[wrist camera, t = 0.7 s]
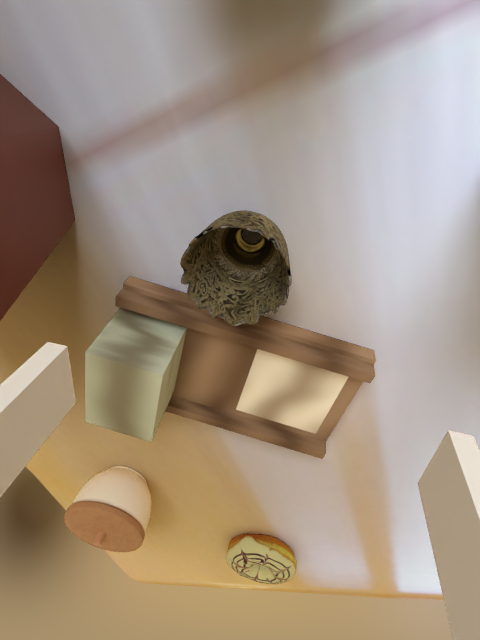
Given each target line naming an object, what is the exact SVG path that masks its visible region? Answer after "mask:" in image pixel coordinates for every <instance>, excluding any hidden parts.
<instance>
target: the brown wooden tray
mask: <svg viewBox="0 0 480 640" xmlns="http://www.w3.org/2000/svg"><path fill="white" fill-rule="evenodd" d="M115 306H118V307H120V309H119V310H118V311H117V312H116V314H115V315H114V316H113V318H112V319H111V320H110V321H109V323H108V324H107V325H106V326H105V328H104V329H103V330H102V331H101V333H100V334H99V335H98V337H97V338H96V339H95V340H94V342H93V343H92V344H91V345H90V347H89V348H88V349H87V350H86V352H85V422H87V423H90V424H93V425H96V426H100V427H103V428H106V429H110V430H113V431H116V432H119V433H123V434H126V435H129V436H133V437H136V438H139V439H142V440H146V441H149V442H152V440H153V437H154V435H155V433H156V431H157V428H158V426H159V424H160V421H161V419H162V417H163V415H164V412H165V411H167V412H170V413H174V414H177V415H180V416H183V417H187V418H190V419H193V420H197V421H200V422H203V423H206V424H210V425H213V426H216V427H220V428H223V429H226V430H229V431H233V432H236V433H239V434H243V435H246V436H249V437H252V438H256V439H259V440H262V441H266V442H269V443H272V444H276V445H279V446H282V447H285V448H289V449H292V450H295V451H299V452H302V453H305V454H308V455H312V456H315V457H318V458H322V459H323V457H324V455H325V454H326V441H327V439H328V437H329V436H330V434H331V432H332V431H333V429H334V428H335V426H336V424H337V423H338V421H339V419H340V418H341V416H342V415H343V413H344V411H345V410H346V408H347V406H348V405H349V403H350V402H351V400H352V398H353V397H354V395H355V393H356V392H357V390H358V389H359V387H360V385H361V384H362V382H363V381H365V382H368V383H371V381H372V380H373V378H374V377H375V371H374V365H373V364H374V363H375V361H376V359H375V354H374V350H371V349H368V348H365V347H361V346H358V345H355V344H351V343H348V342H345V341H342V340H338V339H335V338H332V337H328V336H325V335H322V334H318V333H315V332H312V331H309V330H305V329H302V328H299V327H295V326H292V325H289V324H286V323H282V322H279V321H276V320H272V319H269V318H266V317H262V316H259V318H258V322H257V323H256V324H254V325H249V324H248V323H247V322H246V323H244V324H240V325H238V326H232V325H230V324H229V323H227V322H225V320H224V318H222V317H221V316H218V317H217V318H215V319H212V317H211V314H210V310H209V309H210V308H209V307H208V308H207V309H204V308H201V309H198V308H197V307H196V303H195V301H194V300H193V301H192V300H191V299H189V297H188V294H187V293H183V292H180V291H177V290H174V289H170V288H167V287H164V286H160V285H157V284H154V283H151V282H147V281H144V280H141V279H137V278H134V277H131V276H130V277H129V278H128V279H127V280H126V281H125V283H124V284H123V289H122V290H121V291H120V293H119V294H118V295H117V296H116V304H115Z"/></svg>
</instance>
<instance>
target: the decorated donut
mask: <svg viewBox="0 0 480 640" xmlns="http://www.w3.org/2000/svg"><path fill="white" fill-rule="evenodd" d="M226 561H227V563H228V564H229V565H230V566H231V567H232V568H233V569H234V570H235V571H236V572H237V573H238V574H239V575H241V576H243V577H246V578H249V579H251V580H254V581H256V582H260V583H266V584H279V583H284V582H287V581H289V580H290V579H291V578H292V577H293V576H294V574H295V572H296V560H295V557H294V554H293V552H292V550H291V549H290V548H289V546H288V545H286V544H285V543H283V542H282V541H280V540H279V539H277V538H275V537H271V536H269V535H262V534H257V535H256V534H250V535H249V534H243V535H239V536H237V537H235V538H234V539H232V540H231V542H230V544H229V547H228V552H227V555H226Z"/></svg>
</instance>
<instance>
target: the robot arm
mask: <svg viewBox="0 0 480 640" xmlns="http://www.w3.org/2000/svg"><path fill="white" fill-rule="evenodd" d="M75 403H76V398H75V392H74V385H73V379H72V372H71V366H70V359H69V352H68V346H64V345H60V344H55V343H51V342H47V343H46V344H45V345H44V346H43V347H41V348H40V349H39V350H38V351H37V352H36V353H35V354H34V355H33V356H31V357H30V358H29V359H28V360H27V361H26V362H25V363H24V364H23V365H22V366H20V367H19V368H18V369H17V370H16V371H15V372H14V373H13V374H12V375H10V376H9V377H8V378H7V379H6V380H5V381H4V382H3V383H2V384H1V385H0V497H1V496H2V495H3V493H4V492H5V491H6V490H7V488H8V487H9V486H10V485H11V483H12V482H13V481H14V480H15V478H16V477H17V476H18V475H19V473H20V472H21V471H22V470H23V468H24V467H25V466H26V465H27V463H28V462H29V461H30V460H31V458H32V457H33V456H34V455H35V453H36V452H37V451H38V450H39V448H40V447H41V446H42V445H43V443H44V442H45V441H46V440H47V438H48V437H49V436H50V435H51V433H52V432H53V431H54V430H55V428H56V427H57V426H58V425H59V423H60V422H61V421H62V420H63V418H64V417H65V416H66V415H67V413H68V412H69V411H70V410H71V408H72V407H73V406H74V405H75ZM418 487H419V491H420V496H421V500H422V505H423V509H424V514H425V518H426V522H427V527H428V531H429V536H430V540H431V545H432V549H433V554H434V558H435V562H436V567H437V571H438V576H439V580H440V585H441V589H442V594H443V598H444V602H445V607H446V611H447V616H448V620H449V625H450V629H451V634H452V637H453V640H480V451H479V448H478V446H477V443H476V441H475V439H474V436H473V435H468V434H464V433H459V432H454V431H450V430H448V432H447V434H446V435H445V437H444V439H443V440H442V442H441V444H440V446H439V447H438V449H437V451H436V453H435V454H434V456H433V458H432V459H431V461H430V463H429V465H428V466H427V468H426V470H425V472H424V473H423V475H422V477H421V478H420V480H419V482H418Z"/></svg>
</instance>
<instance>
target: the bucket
mask: <svg viewBox="0 0 480 640" xmlns="http://www.w3.org/2000/svg"><path fill="white" fill-rule="evenodd" d="M74 221H75V217H74V211H73V206H72V200H71V194H70V189H69V183H68V177H67V172H66V166H65V161H64V155H63V149H62V144H61V138H60V133H59V127H58V126H57V125H56V124H55V123H54V122H53V121H52V120H50V119H49V118H48V117H47V116H46V115H45V114H44V113H43V112H42V111H41V110H39V109H38V108H37V107H36V106H35V105H34V104H33V103H32V102H31V101H29V100H28V99H27V98H26V97H25V96H24V95H23V94H22V93H21V92H20V91H18V90H17V89H16V88H15V87H14V86H13V85H12V84H11V83H10V82H8V81H7V80H6V79H5V78H4V77H3V76H2V75H1V74H0V320H1V319H2V318H3V316H4V315H5V314H6V312H7V311H8V310H9V308H10V307H11V306H12V304H13V303H14V302H15V300H16V299H17V298H18V296H19V295H20V293H21V292H22V291H23V289H24V288H25V287H26V285H27V284H28V283H29V281H30V280H31V279H32V277H33V276H34V275H35V273H36V272H37V271H38V269H39V268H40V267H41V265H42V264H43V263H44V261H45V260H46V258H47V257H48V256H49V254H50V253H51V252H52V250H53V249H54V248H55V246H56V245H57V244H58V242H59V241H60V240H61V238H62V237H63V236H64V234H65V233H66V232H67V230H68V229H69V228H70V226H71V225H72V223H73V222H74Z"/></svg>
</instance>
